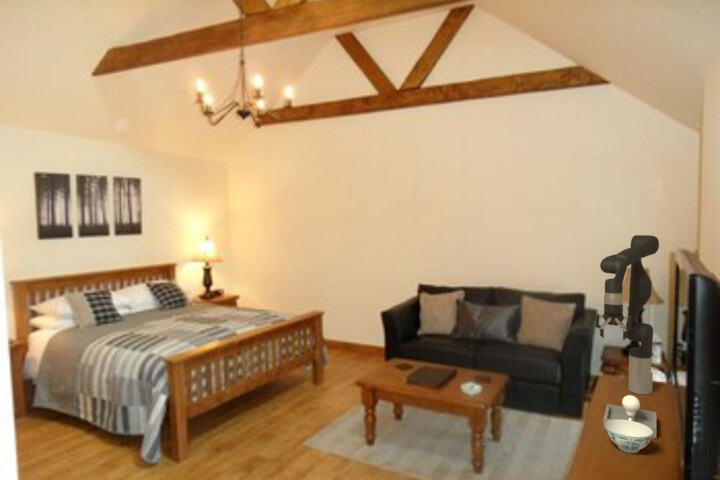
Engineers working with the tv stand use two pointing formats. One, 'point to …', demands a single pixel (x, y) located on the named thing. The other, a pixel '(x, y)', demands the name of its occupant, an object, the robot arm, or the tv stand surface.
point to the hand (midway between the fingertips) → (613, 338)
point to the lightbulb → (630, 406)
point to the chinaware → (629, 434)
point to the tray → (640, 417)
